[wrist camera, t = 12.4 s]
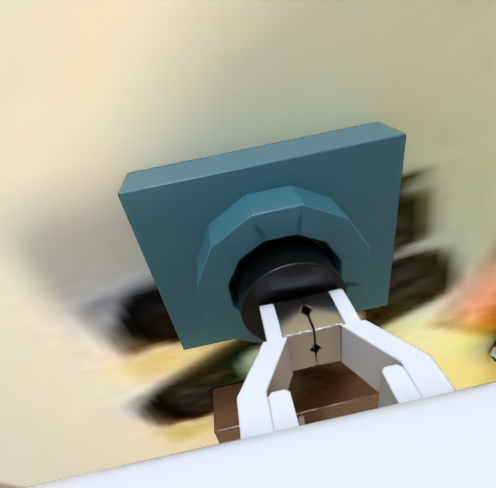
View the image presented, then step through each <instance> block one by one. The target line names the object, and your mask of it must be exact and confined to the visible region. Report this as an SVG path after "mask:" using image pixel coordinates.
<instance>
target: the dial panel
mask: <svg viewBox="0 0 496 488" xmlns="http://www.w3.org/2000/svg"><path fill="white" fill-rule="evenodd" d="M243 384H244V382H242V383H237V384H233V385H228V386H224V387H219V388H215V389H213V410H214V432H215V434H216V436H217V439H218V441H219V443H225V442H229V441H234V440H238V439H241V438H240V427H239V417H238V407H237V396H238V394H239V392H240V390H241V388H242V386H243ZM288 391H289V392H290V393H291V397H292V401H293V404H294V408H295V412H296V415H297V419H298V423H299V426H301V425H305V424H309V423H314V422H318V421H323V420H327V419H332V418H336V417H341V416H345V415H349V414H354V413H358V412H363V411H367V410H372V409H376V408H378V400H379V392H378V391H376V390H375V389H374V388H373V387H371V386H370V385H369V384H368V383H367V382H365V381H364V380H363V379H362V378H361V377H359V376H358V375H357V374H356V373H355V372H353V371H352V370H351V369H350V368H348V367H347V366H346V365H345V364H344V363H342V361H337V362H332V363H326V364H322V365H317V366H313V367H308V368H304V369H300V370H296V371H293V375H292V378H291V382H290V385H289V388H288Z"/></svg>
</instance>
